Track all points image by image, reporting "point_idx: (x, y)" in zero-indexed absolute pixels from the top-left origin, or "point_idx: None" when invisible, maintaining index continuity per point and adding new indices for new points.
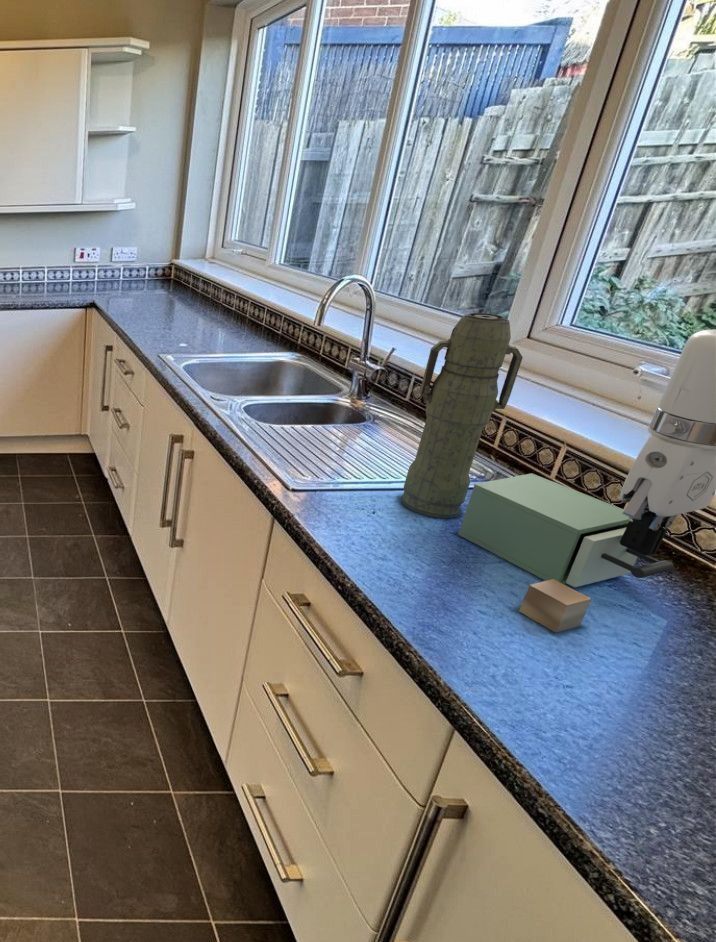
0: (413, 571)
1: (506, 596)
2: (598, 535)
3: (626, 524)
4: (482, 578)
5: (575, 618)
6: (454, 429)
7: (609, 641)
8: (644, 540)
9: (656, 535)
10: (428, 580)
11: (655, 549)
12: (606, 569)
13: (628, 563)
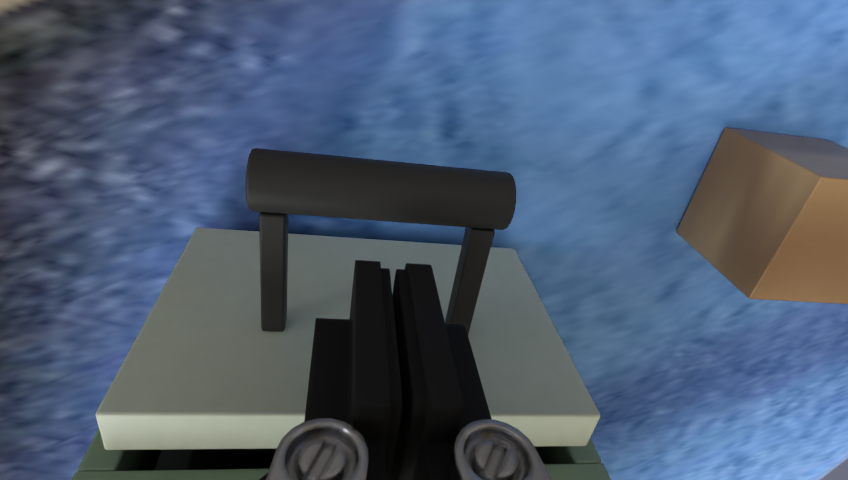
0: (748, 416)
1: (701, 290)
2: None
3: (133, 456)
4: (646, 357)
5: (795, 147)
6: None
7: (754, 36)
8: (456, 357)
9: (456, 376)
10: (767, 387)
11: (381, 280)
12: None
13: (230, 263)
